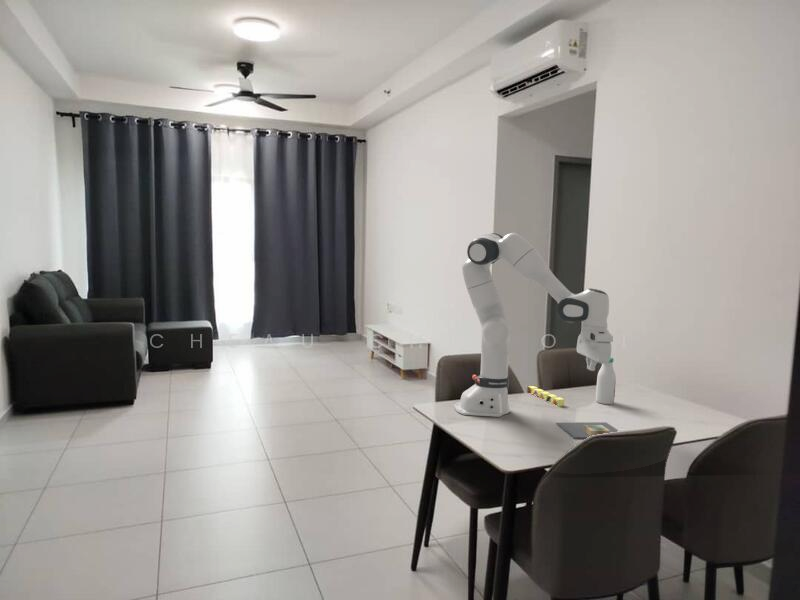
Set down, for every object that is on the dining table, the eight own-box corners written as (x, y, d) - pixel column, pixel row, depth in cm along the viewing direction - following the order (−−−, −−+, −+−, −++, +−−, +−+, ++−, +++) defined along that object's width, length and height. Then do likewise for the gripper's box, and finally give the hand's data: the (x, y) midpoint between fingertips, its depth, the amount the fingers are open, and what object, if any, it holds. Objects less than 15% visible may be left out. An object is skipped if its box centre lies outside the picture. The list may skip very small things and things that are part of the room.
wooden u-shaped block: (583, 430, 201) (590, 436, 195) (583, 424, 200) (591, 430, 195) (601, 430, 201) (609, 436, 196) (601, 424, 201) (609, 430, 195)
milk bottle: (612, 405, 236) (615, 360, 234) (593, 402, 240) (596, 357, 238) (615, 401, 243) (618, 357, 241) (597, 398, 247) (600, 355, 245)
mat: (574, 438, 193) (574, 437, 193) (556, 424, 209) (556, 422, 209) (627, 438, 195) (627, 436, 195) (606, 423, 211) (606, 422, 211)
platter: (550, 389, 263) (550, 382, 263) (596, 408, 233) (596, 400, 233) (492, 393, 252) (492, 386, 251) (532, 414, 222) (533, 406, 222)
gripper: (573, 328, 211) (570, 363, 213) (598, 337, 191) (595, 376, 193) (589, 328, 212) (586, 363, 213) (615, 338, 192) (612, 376, 193)
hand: (590, 370), depth 203 cm, fingers closed
